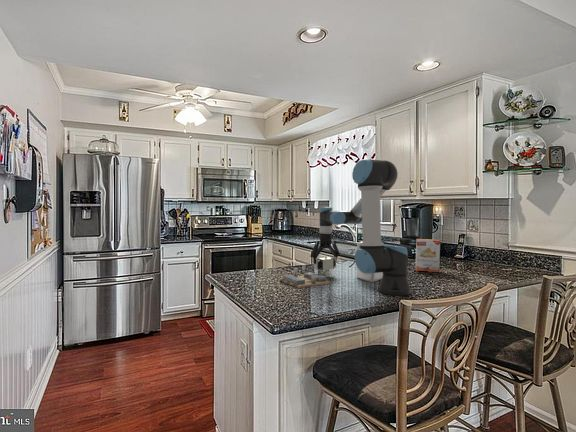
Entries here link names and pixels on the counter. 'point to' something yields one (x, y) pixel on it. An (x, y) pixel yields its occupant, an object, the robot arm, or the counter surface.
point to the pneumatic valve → (326, 265)
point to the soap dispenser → (368, 276)
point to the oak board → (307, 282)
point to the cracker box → (427, 255)
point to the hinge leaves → (312, 276)
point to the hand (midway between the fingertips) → (325, 268)
